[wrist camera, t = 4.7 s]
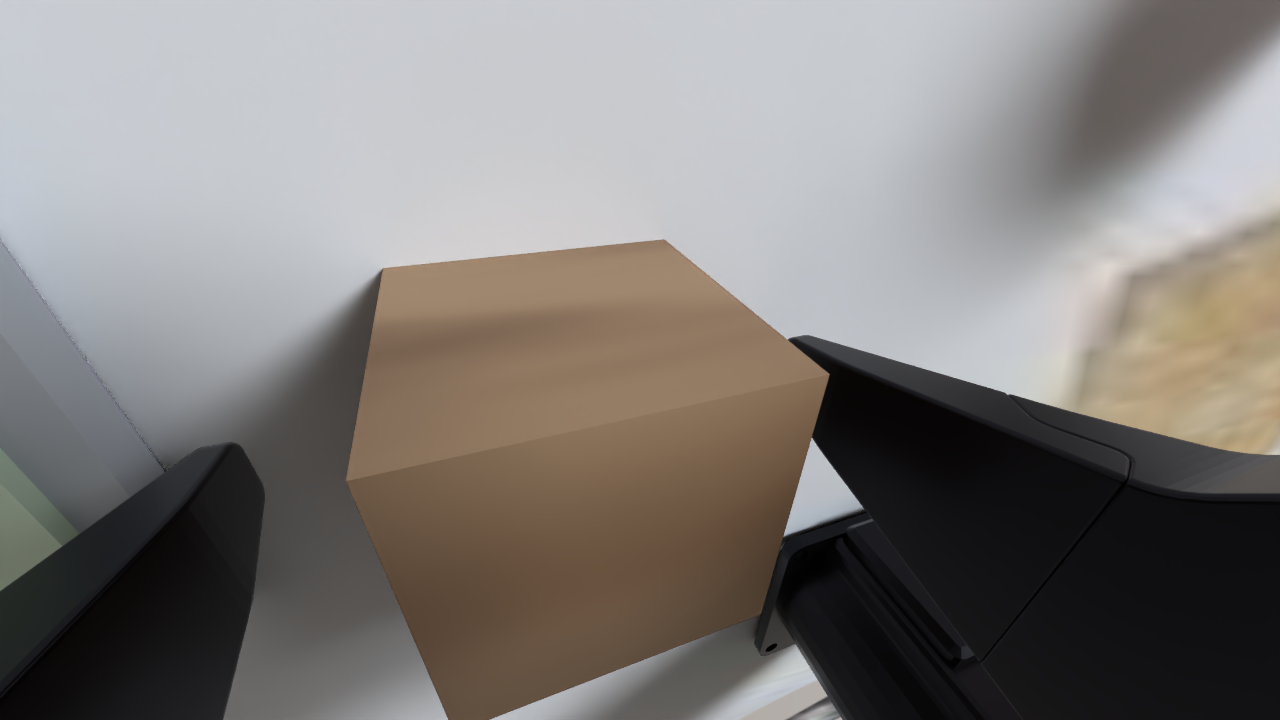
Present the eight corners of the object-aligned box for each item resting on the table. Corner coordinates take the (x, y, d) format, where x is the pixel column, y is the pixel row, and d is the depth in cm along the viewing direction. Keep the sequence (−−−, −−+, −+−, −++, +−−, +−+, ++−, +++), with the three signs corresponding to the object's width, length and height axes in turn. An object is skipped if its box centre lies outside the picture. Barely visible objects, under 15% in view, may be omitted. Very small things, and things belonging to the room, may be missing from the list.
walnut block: (652, 431, 11) (761, 614, 7) (442, 480, 10) (454, 733, 6) (662, 238, 9) (829, 374, 5) (383, 266, 7) (345, 481, 4)
